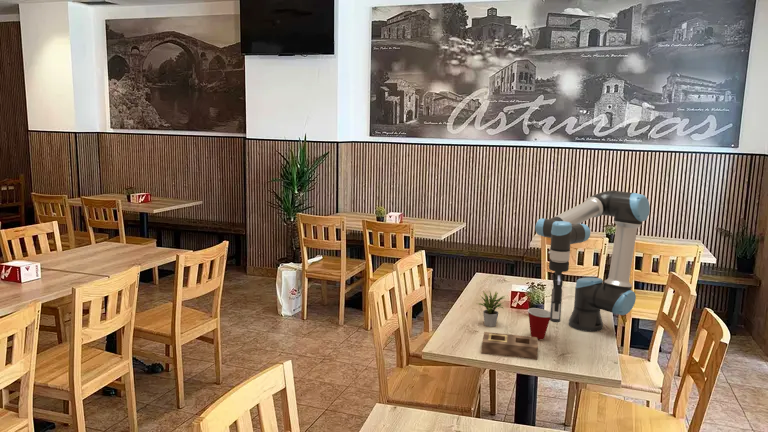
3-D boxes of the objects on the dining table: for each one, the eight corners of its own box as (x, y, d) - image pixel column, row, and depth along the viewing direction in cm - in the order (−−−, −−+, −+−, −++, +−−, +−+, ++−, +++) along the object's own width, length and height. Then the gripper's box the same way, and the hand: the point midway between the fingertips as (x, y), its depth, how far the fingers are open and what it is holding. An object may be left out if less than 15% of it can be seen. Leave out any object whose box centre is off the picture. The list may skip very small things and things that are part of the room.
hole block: (536, 348, 253) (537, 336, 252) (537, 359, 241) (537, 347, 240) (483, 342, 257) (484, 331, 257) (481, 353, 246) (482, 341, 245)
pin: (559, 319, 245) (562, 288, 243) (560, 322, 241) (562, 291, 239) (549, 318, 246) (551, 287, 243) (550, 321, 242) (552, 290, 240)
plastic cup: (551, 343, 260) (553, 316, 258) (526, 340, 262) (528, 314, 260) (550, 334, 270) (552, 308, 268) (525, 332, 272) (527, 306, 270)
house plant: (506, 332, 271) (508, 297, 268) (475, 329, 273) (477, 294, 271) (506, 322, 285) (508, 288, 282) (476, 319, 287) (478, 286, 285)
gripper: (548, 254, 248) (545, 309, 252) (550, 264, 232) (546, 322, 236) (567, 256, 246) (563, 311, 250) (570, 266, 230) (566, 324, 234)
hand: (555, 316), depth 243 cm, fingers closed on pin, 4 cm apart
